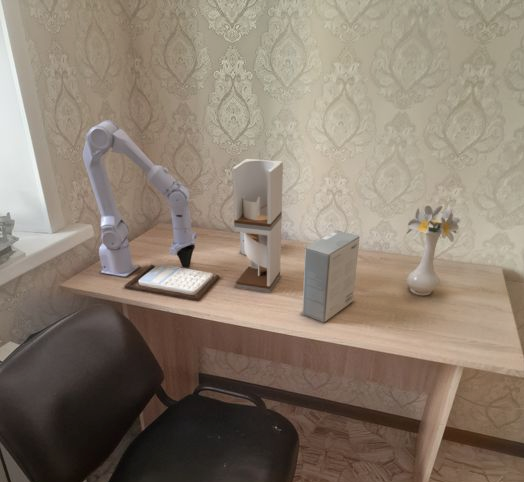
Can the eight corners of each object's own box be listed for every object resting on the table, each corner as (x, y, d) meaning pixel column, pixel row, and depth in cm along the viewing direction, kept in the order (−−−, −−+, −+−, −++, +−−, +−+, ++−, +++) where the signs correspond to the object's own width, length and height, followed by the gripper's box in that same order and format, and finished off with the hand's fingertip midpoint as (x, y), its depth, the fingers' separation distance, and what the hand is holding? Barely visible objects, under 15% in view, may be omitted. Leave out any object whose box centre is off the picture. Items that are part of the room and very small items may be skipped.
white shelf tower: (248, 272, 150) (246, 158, 130) (280, 276, 148) (282, 161, 128) (236, 287, 142) (232, 168, 122) (269, 292, 139) (270, 171, 119)
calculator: (195, 296, 137) (194, 290, 136) (137, 285, 143) (136, 279, 142) (214, 277, 147) (214, 272, 146) (159, 268, 153) (158, 262, 152)
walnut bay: (124, 288, 141) (124, 285, 141) (151, 267, 154) (151, 264, 153) (197, 301, 135) (197, 298, 134) (219, 278, 147) (219, 275, 146)
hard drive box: (331, 293, 138) (337, 229, 127) (353, 301, 134) (361, 236, 123) (300, 314, 128) (304, 246, 117) (324, 323, 124) (330, 254, 113)
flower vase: (447, 282, 144) (467, 202, 130) (435, 308, 131) (456, 222, 117) (405, 273, 149) (421, 195, 135) (390, 297, 136) (405, 214, 122)
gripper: (182, 236, 136) (187, 278, 144) (203, 220, 147) (206, 260, 155) (161, 233, 138) (166, 275, 146) (183, 217, 149) (187, 257, 157)
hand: (186, 267), depth 150 cm, fingers closed
